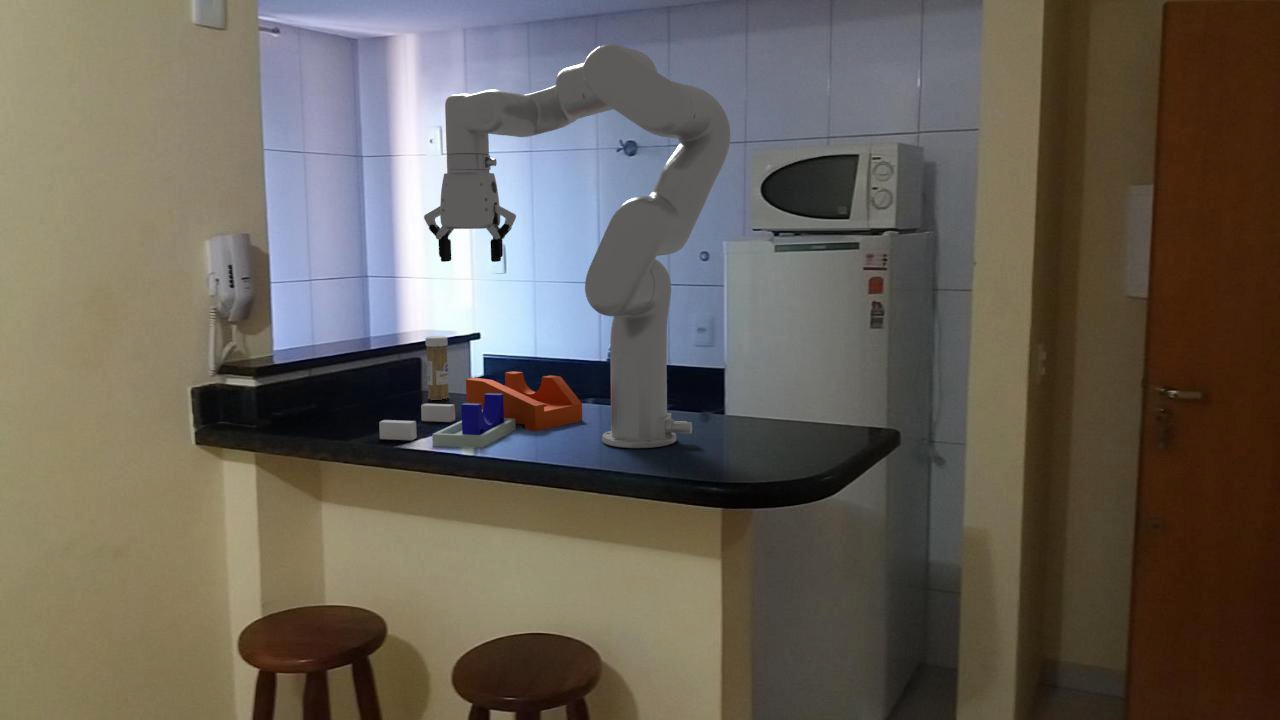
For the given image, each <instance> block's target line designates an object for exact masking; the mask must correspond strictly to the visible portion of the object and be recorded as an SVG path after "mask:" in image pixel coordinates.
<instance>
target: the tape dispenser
mask: <svg viewBox="0 0 1280 720" xmlns="http://www.w3.org/2000/svg"><path fill="white" fill-rule="evenodd" d="M504 380H505V381H504V382H505V383H504V384H505V385H503V384H502V383H500V382H498V381H495V380H493V379H487V378H480V377H472V378H467V379H465V389H466V390H465V393H466V395H465V396H466V403H476V404H481V407H482V409H483V408H484V398H485V394H487V393H498V394H503V401H504V418H512V419H515V424H520V425H524V430H527V431H531V432H539V431H543V430H547V429H552V428H557V427H560V426H565V425H568V424H569V425H570V424H573V423H577V422H583V403H582V402H581V400H580V399H579V398H578V396H577V395H576V394H575V393H574V391H573V390H572V389H571V388H570V386H569V385H568V384H567V383H566V381H565V380H564V379H563V377H562V376H558V375H546V376H545V375H544V376H542V377H541V383H540V386H539V388H538V389H537V391H534V390H532V389H531V388H530V387H529V386H528V384H527V382H526V380H525V377H524V372H522V371H506V372H504Z"/></svg>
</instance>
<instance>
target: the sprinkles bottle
mask: <svg viewBox="0 0 1280 720" xmlns="http://www.w3.org/2000/svg"><path fill="white" fill-rule="evenodd" d="M425 346H426V370H427V371H426V372H427V373H426V374H427V375H426V376H427V389H428V395H427V399H428V400H429V399H430V400H429V401H432V400H441V401H443V400H442V399H446V400H448V399H447V398H449V399H450V394H449V393H450V392H449V363H448V349H447V348H448V336H446V335H431V336H426V337H425Z"/></svg>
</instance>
